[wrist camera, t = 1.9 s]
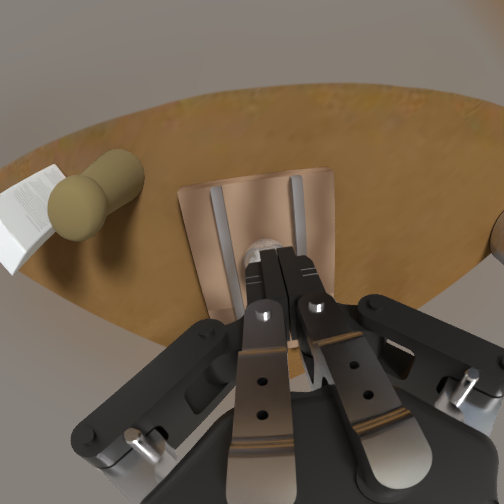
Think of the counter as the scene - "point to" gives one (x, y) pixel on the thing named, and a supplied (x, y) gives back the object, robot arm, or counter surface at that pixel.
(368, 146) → the counter surface
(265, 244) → the steel ball
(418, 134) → the counter surface
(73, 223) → the olive knob stopper
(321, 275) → the walnut channel
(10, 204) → the skincare box
